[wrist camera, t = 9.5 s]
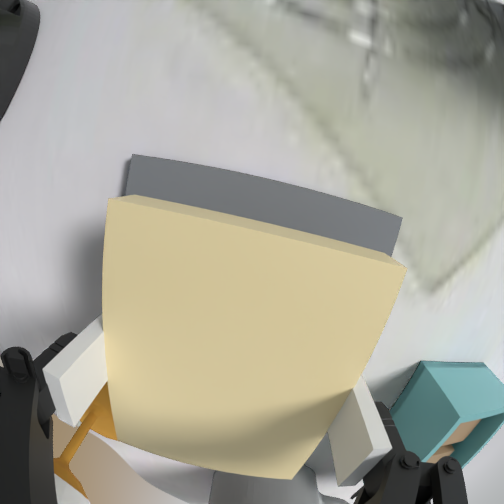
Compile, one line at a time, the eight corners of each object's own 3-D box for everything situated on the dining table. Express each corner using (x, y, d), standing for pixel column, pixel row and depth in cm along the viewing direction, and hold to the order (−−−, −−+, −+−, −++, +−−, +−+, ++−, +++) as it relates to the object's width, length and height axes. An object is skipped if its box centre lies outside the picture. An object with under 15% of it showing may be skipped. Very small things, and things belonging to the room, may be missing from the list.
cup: (149, 450, 19) (100, 584, 4) (70, 419, 19) (3, 523, 4) (139, 388, 17) (47, 570, 1) (47, 352, 17) (-63, 469, 1)
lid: (134, 407, 14) (117, 440, 11) (145, 193, 11) (108, 198, 8) (289, 442, 14) (291, 479, 11) (375, 247, 11) (407, 268, 8)
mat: (123, 387, 17) (120, 392, 16) (137, 155, 13) (132, 154, 12) (307, 429, 17) (308, 435, 17) (397, 216, 13) (402, 217, 12)
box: (356, 454, 18) (369, 506, 12) (421, 360, 15) (460, 417, 9) (421, 447, 18) (439, 489, 12) (483, 362, 15) (519, 402, 10)
